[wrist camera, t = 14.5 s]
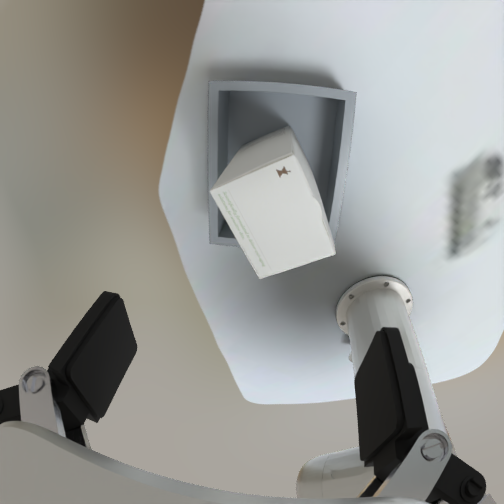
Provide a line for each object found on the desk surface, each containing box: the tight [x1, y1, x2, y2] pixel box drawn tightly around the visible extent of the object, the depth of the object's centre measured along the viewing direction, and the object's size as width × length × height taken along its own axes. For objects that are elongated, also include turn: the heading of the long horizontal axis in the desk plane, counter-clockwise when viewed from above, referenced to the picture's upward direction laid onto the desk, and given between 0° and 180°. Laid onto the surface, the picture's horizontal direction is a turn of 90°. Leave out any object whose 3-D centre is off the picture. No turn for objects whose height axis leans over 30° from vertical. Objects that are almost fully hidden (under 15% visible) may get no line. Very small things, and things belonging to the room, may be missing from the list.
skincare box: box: [210, 126, 336, 279], centre depth 26 cm, size 8×7×16 cm
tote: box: [208, 81, 357, 247], centre depth 31 cm, size 18×14×6 cm
